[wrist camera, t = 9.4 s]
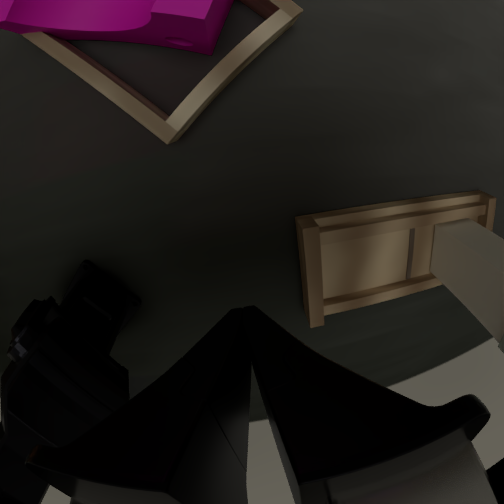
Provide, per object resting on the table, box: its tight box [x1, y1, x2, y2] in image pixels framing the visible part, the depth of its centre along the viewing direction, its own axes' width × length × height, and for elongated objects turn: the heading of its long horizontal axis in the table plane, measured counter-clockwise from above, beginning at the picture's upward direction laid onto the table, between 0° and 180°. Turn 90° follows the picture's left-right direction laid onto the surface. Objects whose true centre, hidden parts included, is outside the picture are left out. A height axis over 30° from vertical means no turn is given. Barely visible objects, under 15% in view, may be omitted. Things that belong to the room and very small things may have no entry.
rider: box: [430, 218, 504, 353], centre depth 17 cm, size 5×5×12 cm
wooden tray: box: [295, 190, 496, 328], centre depth 23 cm, size 20×9×3 cm, turn 100°
